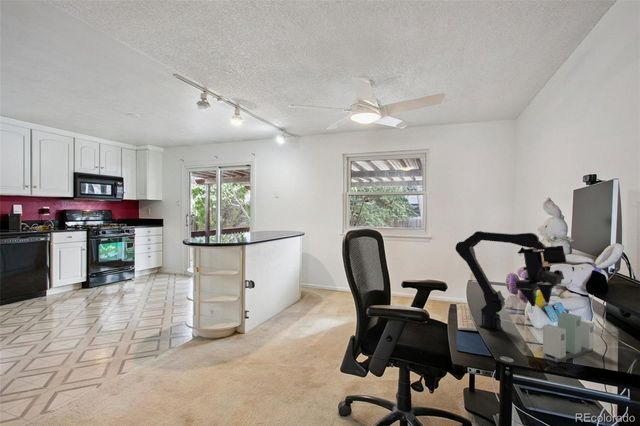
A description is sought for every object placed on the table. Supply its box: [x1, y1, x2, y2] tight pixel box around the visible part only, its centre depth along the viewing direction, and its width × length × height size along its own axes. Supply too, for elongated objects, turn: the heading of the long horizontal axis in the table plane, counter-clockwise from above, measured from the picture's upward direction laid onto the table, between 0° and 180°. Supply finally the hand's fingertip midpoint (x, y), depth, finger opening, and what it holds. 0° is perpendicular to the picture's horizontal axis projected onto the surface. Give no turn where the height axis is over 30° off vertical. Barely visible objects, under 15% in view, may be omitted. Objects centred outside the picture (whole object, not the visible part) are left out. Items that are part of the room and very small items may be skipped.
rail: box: [543, 347, 594, 363], centre depth 105 cm, size 4×23×1 cm, turn 115°
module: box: [557, 312, 582, 354], centre depth 105 cm, size 5×4×12 cm
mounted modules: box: [542, 318, 595, 359], centre depth 105 cm, size 5×22×9 cm, turn 116°
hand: (540, 304), depth 118 cm, fingers open, 9 cm apart
